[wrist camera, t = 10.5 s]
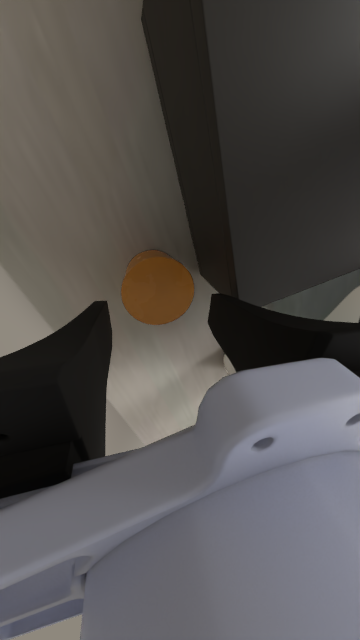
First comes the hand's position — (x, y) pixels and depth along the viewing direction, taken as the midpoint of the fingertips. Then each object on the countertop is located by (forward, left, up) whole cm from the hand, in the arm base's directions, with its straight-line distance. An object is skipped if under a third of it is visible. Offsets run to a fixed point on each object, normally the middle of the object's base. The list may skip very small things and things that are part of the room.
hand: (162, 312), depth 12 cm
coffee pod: (0, 0, -6) cm, 6 cm away
